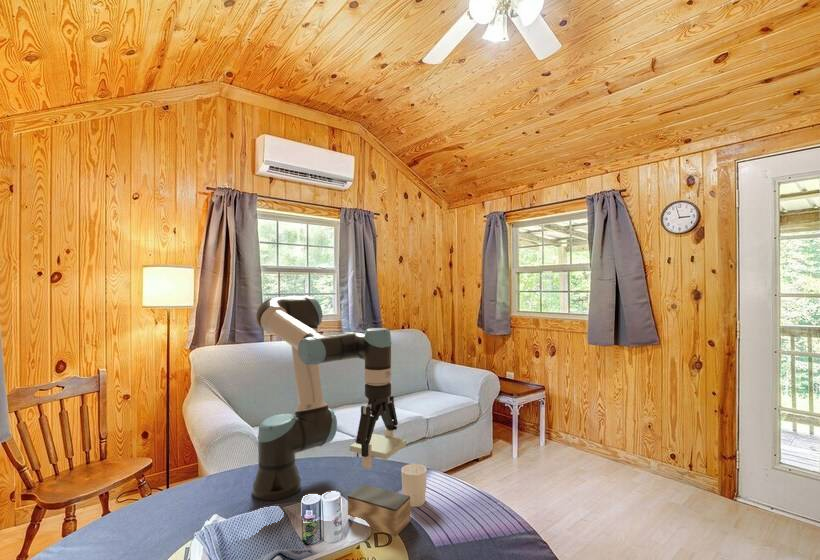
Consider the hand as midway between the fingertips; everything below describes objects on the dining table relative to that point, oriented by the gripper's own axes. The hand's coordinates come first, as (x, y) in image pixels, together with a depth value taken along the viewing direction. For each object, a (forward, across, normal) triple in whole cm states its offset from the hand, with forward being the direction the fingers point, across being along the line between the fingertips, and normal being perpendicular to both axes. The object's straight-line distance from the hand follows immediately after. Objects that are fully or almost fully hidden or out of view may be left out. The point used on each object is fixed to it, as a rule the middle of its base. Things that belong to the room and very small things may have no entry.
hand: (378, 459), depth 119 cm
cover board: (-3, 0, 0) cm, 3 cm away
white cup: (+18, +14, -4) cm, 23 cm away
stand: (+17, 0, 0) cm, 17 cm away
